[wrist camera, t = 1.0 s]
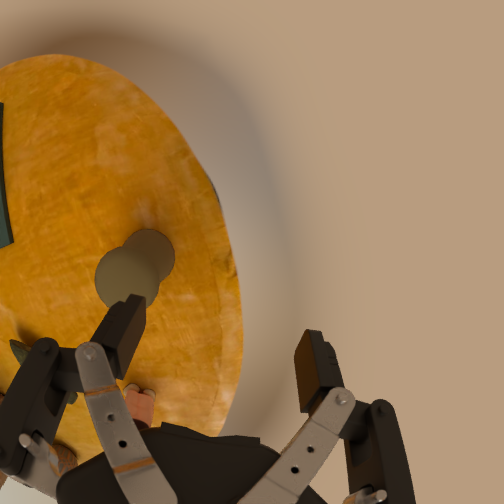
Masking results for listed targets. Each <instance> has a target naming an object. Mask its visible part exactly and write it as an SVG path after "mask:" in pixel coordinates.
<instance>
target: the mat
mask: <svg viewBox="0 0 504 504" xmlns="http://www.w3.org/2000/svg"><path fill="white" fill-rule="evenodd" d="M2 117H3V103H1V102H0V248H3V247H5V246H7V245H9V244H12V243H14V241H13V236H12V232H11V227H10V221H9V216H8V210H7V203H6V195H5V187H4V176H3V161H2Z"/></svg>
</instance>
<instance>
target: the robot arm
mask: <svg viewBox="0 0 504 504" xmlns="http://www.w3.org/2000/svg"><path fill="white" fill-rule="evenodd" d="M145 325H146V298H145V297H144V296H140V295H136V294H132V293H131V294H130V295H129V296H128V298H127V300H126V301H125V302H123V301H118V302H117V303H115V304H114V305H112V306H111V308H110V309H109V311H108V312H107V314H106V315H105V317H104V319H103V320H102V322H101V323H100V325H99V327H98V328H97V330H96V331H95V333H94V335H93V336H92V338H91V340H90V341H89V342H84V343H82V344H80V345H79V346H78V347H77V348H63V347H59V345H58V343H57V342H56V341H55V340H54V339H52V338H48V337H45V338H41V339H39V340H37V341H36V342H35V343H34V345H33V346H32V348H31V350H30V351H29V353H28V354H27V356H26V358H25V360H24V361H23V363H22V365H21V366H20V368H19V370H18V372H17V374H16V375H15V377H14V379H13V381H12V383H11V385H10V387H9V389H8V390H7V392H6V394H5V396H4V398H3V401H2V403H1V405H0V471H1V472H3V473H4V474H5V475H7V476H9V477H10V478H12V479H14V480H15V481H17V482H19V483H22V484H23V485H25V486H28V487H30V488H35V489H37V490H38V491H40V492H42V493H44V494H46V495H48V496H50V497H52V498H54V499H56V500H57V503H58V504H327V503H326V502H325V501H324V500H323V499H322V498H321V497H320V496H319V495H318V494H317V493H316V492H315V491H314V490H313V489H312V488H311V487H310V486H309V485H308V484H309V483H310V482H311V480H312V479H313V478H314V476H315V475H316V473H317V472H318V470H319V469H320V468H321V466H322V465H323V463H324V462H325V460H326V459H327V457H328V456H329V454H330V452H331V451H332V449H333V448H334V446H335V445H336V443H337V441H338V439H339V438H341V439H344V446H345V454H346V463H347V473H348V482H349V492H350V495H349V496H347V497H346V498H345V500H344V501H343V504H416V501H415V495H414V490H413V484H412V479H411V474H410V470H409V465H408V461H407V456H406V452H405V448H404V444H403V440H402V436H401V432H400V428H399V425H398V421H397V417H396V414H395V411H394V408H393V406H392V405H391V404H390V403H389V402H387V401H386V400H383V399H378V400H375V401H373V403H372V404H368V403H364V402H361V401H358V400H355V397H354V395H353V394H352V393H351V392H350V391H349V390H347V389H345V387H344V383H343V379H342V375H341V372H340V368H339V365H338V361H337V359H336V354H335V350H334V349H333V347H332V346H331V344H330V343H329V342H325V341H324V339H323V336H322V332H321V331H317V330H309V329H306V330H305V332H304V334H303V336H302V338H301V340H300V342H299V344H298V346H297V348H296V350H295V355H294V363H295V371H296V379H297V387H298V395H299V403H300V412H301V413H308V414H309V418H308V419H307V420H306V422H305V423H304V425H303V426H302V427H301V428H300V430H299V431H298V432H297V433H296V435H295V436H294V437H293V438H292V439H291V441H290V442H289V443H288V444H287V446H286V447H285V448H284V449H283V450H282V451H281V452H280V453H278V452H276V451H275V450H273V449H271V448H270V447H268V446H265V445H263V444H260V438H258V437H247V436H238V435H235V436H223V437H209V436H206V435H203V434H201V433H199V432H196V431H194V430H191V429H189V428H187V427H183V426H179V425H174V424H170V423H166V422H162V424H161V427H152V428H146V429H142V430H139V431H138V429H137V427H136V425H135V423H134V421H133V419H132V417H131V415H130V412H129V410H128V408H127V406H126V403H125V401H124V399H123V396H122V394H121V391H120V389H119V387H118V386H117V384H116V381H115V380H116V378H117V379H120V380H123V379H124V377H125V374H126V372H127V369H128V367H129V364H130V362H131V360H132V357H133V355H134V353H135V350H136V348H137V346H138V343H139V341H140V339H141V337H142V334H143V332H144V329H145ZM71 392H82V393H84V396H85V400H86V403H87V406H88V409H89V412H90V415H91V418H92V421H93V424H94V427H95V429H96V432H97V435H98V437H99V440H100V442H101V445H102V447H103V449H104V452H102V453H100V454H98V455H97V456H95V457H93V458H91V459H90V460H88V461H86V462H84V463H82V464H80V465H79V466H77V467H75V468H73V469H71V470H69V471H67V472H66V473H64V474H63V475H62V476H61V475H60V473H59V470H58V455H57V453H56V451H55V450H54V449H53V448H52V447H51V446H52V443H53V440H54V437H55V434H56V431H57V429H58V426H59V423H60V420H61V418H62V415H63V412H64V410H65V407H66V404H67V402H68V399H69V397H70V394H71Z"/></svg>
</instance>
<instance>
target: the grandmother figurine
mask: <svg viewBox="0 0 504 504" xmlns="http://www.w3.org/2000/svg"><path fill="white" fill-rule="evenodd" d="M139 390H140V388H139V387H138V386H137V385H135V384H129V385H128V386H127V387H126V388H124V390H123V393H124V395H125V396H126V397H125V403H126V406H127V408H128V410H129V412H130V415H131V417H132V419H133V421H134V423H135V425H136V427H137V429H138V431H139V430H142V429H146V428H150V427H151V423H152V418H153V407H154V401H155V393H154V391H152V390H149V389H145V390H144V391H143V393H142V394H139V393H138V392H139Z"/></svg>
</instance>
